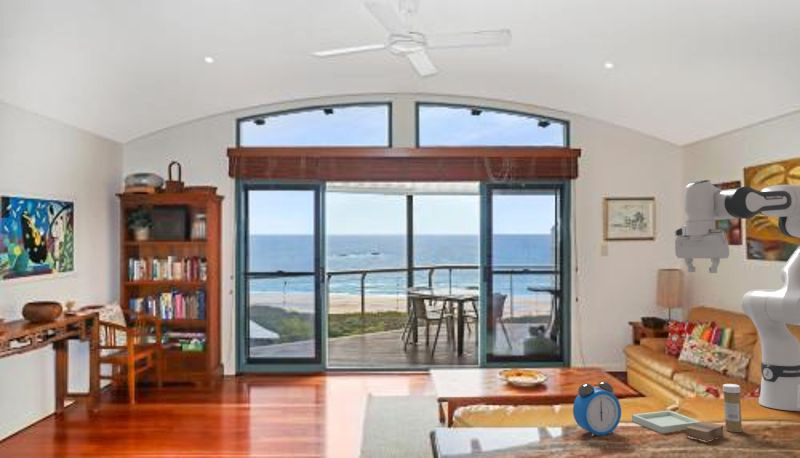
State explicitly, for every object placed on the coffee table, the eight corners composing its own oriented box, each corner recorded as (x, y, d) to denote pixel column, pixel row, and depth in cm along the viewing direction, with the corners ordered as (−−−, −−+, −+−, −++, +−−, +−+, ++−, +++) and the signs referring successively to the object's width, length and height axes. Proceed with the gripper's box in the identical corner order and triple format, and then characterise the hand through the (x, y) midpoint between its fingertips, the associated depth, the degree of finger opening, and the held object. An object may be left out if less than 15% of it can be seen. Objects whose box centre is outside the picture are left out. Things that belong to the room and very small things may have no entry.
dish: (669, 416, 197) (669, 410, 197) (701, 428, 183) (701, 421, 183) (632, 421, 193) (631, 414, 193) (661, 433, 180) (661, 426, 180)
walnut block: (703, 431, 180) (702, 421, 180) (723, 436, 175) (722, 425, 175) (686, 437, 175) (685, 427, 175) (707, 442, 170) (706, 432, 170)
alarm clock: (584, 439, 177) (582, 387, 177) (572, 433, 183) (570, 382, 183) (623, 433, 181) (620, 382, 181) (610, 428, 187) (608, 378, 187)
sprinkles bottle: (744, 430, 180) (742, 384, 181) (739, 433, 177) (737, 387, 177) (727, 427, 183) (725, 382, 184) (722, 430, 180) (720, 385, 181)
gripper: (733, 228, 189) (735, 273, 188) (686, 231, 209) (688, 271, 208) (716, 229, 187) (718, 274, 187) (670, 231, 207) (672, 272, 206)
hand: (702, 272), depth 198 cm, fingers open, 8 cm apart
